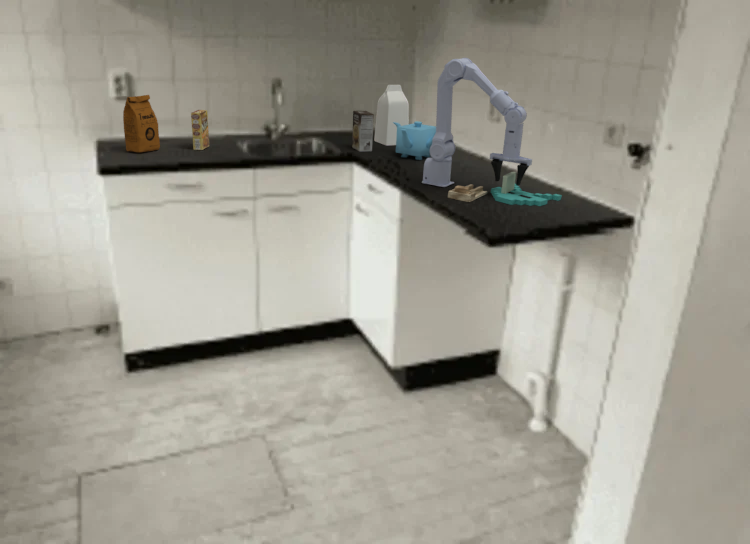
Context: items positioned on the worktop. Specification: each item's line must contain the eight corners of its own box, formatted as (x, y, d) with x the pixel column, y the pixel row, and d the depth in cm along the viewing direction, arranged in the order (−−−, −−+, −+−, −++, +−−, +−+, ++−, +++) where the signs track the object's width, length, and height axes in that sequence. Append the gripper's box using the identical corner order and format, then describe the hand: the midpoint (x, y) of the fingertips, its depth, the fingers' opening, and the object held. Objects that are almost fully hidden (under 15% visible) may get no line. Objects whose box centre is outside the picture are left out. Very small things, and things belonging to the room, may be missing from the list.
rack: (447, 197, 225) (448, 191, 224) (465, 189, 236) (466, 183, 235) (469, 202, 221) (470, 195, 220) (486, 193, 232) (487, 187, 231)
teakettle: (430, 152, 295) (433, 118, 289) (442, 161, 277) (445, 125, 272) (389, 152, 291) (390, 117, 285) (398, 161, 274) (400, 125, 268)
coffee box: (351, 147, 296) (352, 110, 290) (364, 146, 299) (366, 110, 293) (359, 151, 289) (360, 113, 282) (372, 151, 291) (374, 113, 285)
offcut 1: (454, 191, 224) (454, 187, 223) (457, 189, 226) (457, 185, 226) (466, 193, 222) (466, 189, 222) (469, 191, 225) (469, 187, 224)
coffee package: (164, 150, 274) (159, 95, 265) (138, 155, 264) (133, 98, 256) (148, 147, 279) (143, 92, 270) (122, 151, 269) (117, 95, 261)
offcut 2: (453, 195, 225) (453, 191, 224) (457, 193, 227) (458, 189, 227) (466, 198, 222) (467, 194, 222) (471, 196, 225) (471, 192, 224)
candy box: (202, 150, 277) (200, 113, 271) (192, 149, 277) (190, 112, 272) (209, 146, 285) (208, 109, 279) (200, 145, 285) (198, 109, 280)
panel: (501, 193, 228) (503, 175, 226) (510, 188, 234) (512, 171, 232) (505, 193, 227) (507, 176, 225) (514, 189, 233) (516, 172, 231)
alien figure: (512, 189, 242) (478, 197, 229) (513, 183, 242) (479, 191, 228) (560, 201, 229) (528, 211, 216) (561, 195, 229) (529, 204, 215)
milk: (386, 145, 304) (389, 86, 294) (374, 140, 313) (376, 83, 303) (408, 144, 309) (412, 86, 300) (396, 139, 319) (399, 83, 309)
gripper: (487, 141, 225) (483, 181, 230) (528, 148, 218) (523, 188, 223) (496, 139, 231) (491, 177, 236) (536, 145, 224) (531, 184, 229)
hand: (507, 182), depth 230 cm, fingers open, 7 cm apart
